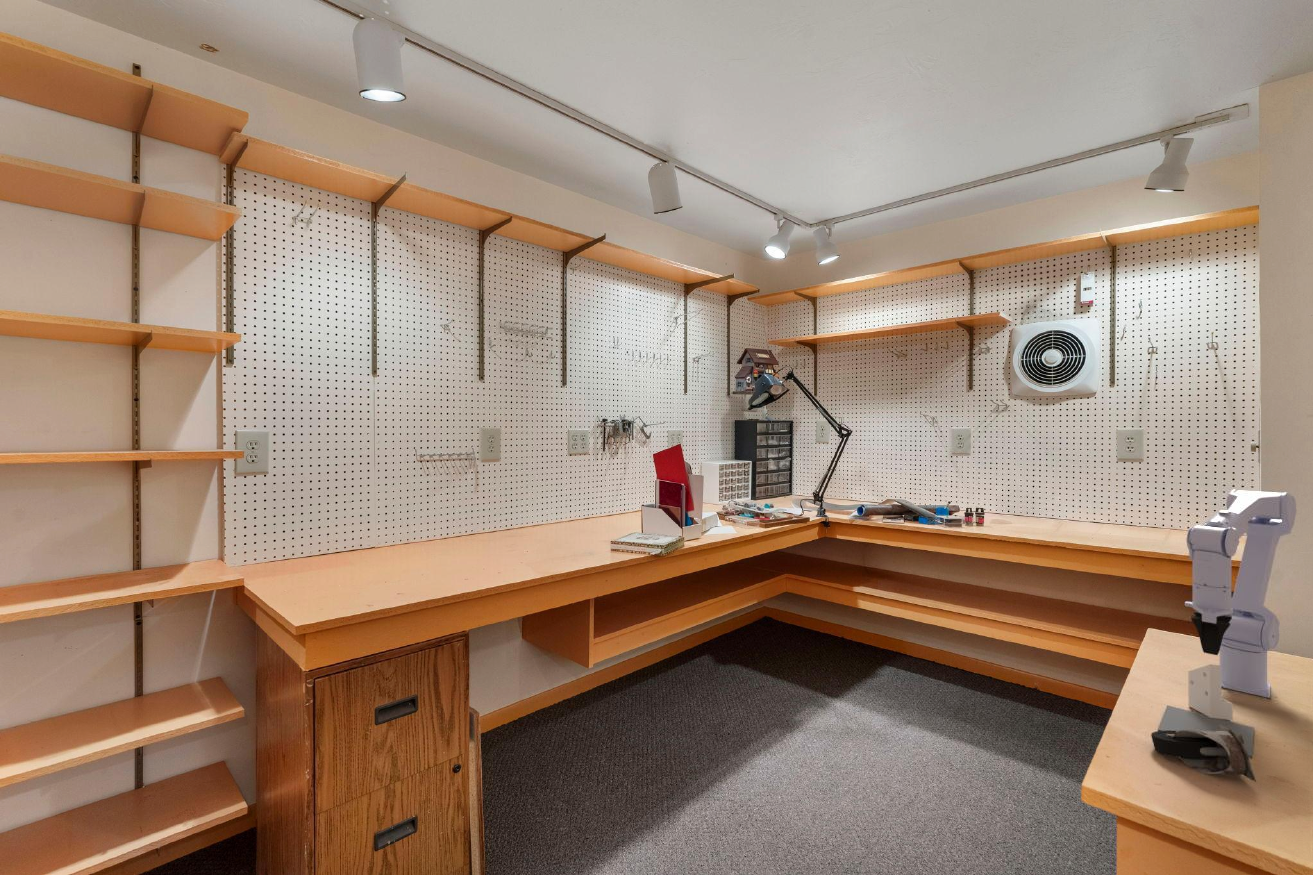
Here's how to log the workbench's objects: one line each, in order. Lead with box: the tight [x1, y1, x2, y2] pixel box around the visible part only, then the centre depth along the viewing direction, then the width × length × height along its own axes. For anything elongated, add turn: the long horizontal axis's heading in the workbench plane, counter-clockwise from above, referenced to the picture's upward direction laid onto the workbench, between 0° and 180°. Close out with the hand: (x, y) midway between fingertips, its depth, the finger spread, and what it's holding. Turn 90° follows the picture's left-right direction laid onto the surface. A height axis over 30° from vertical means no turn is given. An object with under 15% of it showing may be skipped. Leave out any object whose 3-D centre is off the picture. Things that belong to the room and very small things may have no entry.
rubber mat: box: [1157, 705, 1255, 759], centre depth 104 cm, size 14×12×1 cm
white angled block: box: [1187, 663, 1234, 721], centre depth 110 cm, size 4×10×9 cm
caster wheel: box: [1150, 725, 1257, 783], centre depth 94 cm, size 7×11×10 cm
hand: (1211, 650), depth 116 cm, fingers open, 4 cm apart
